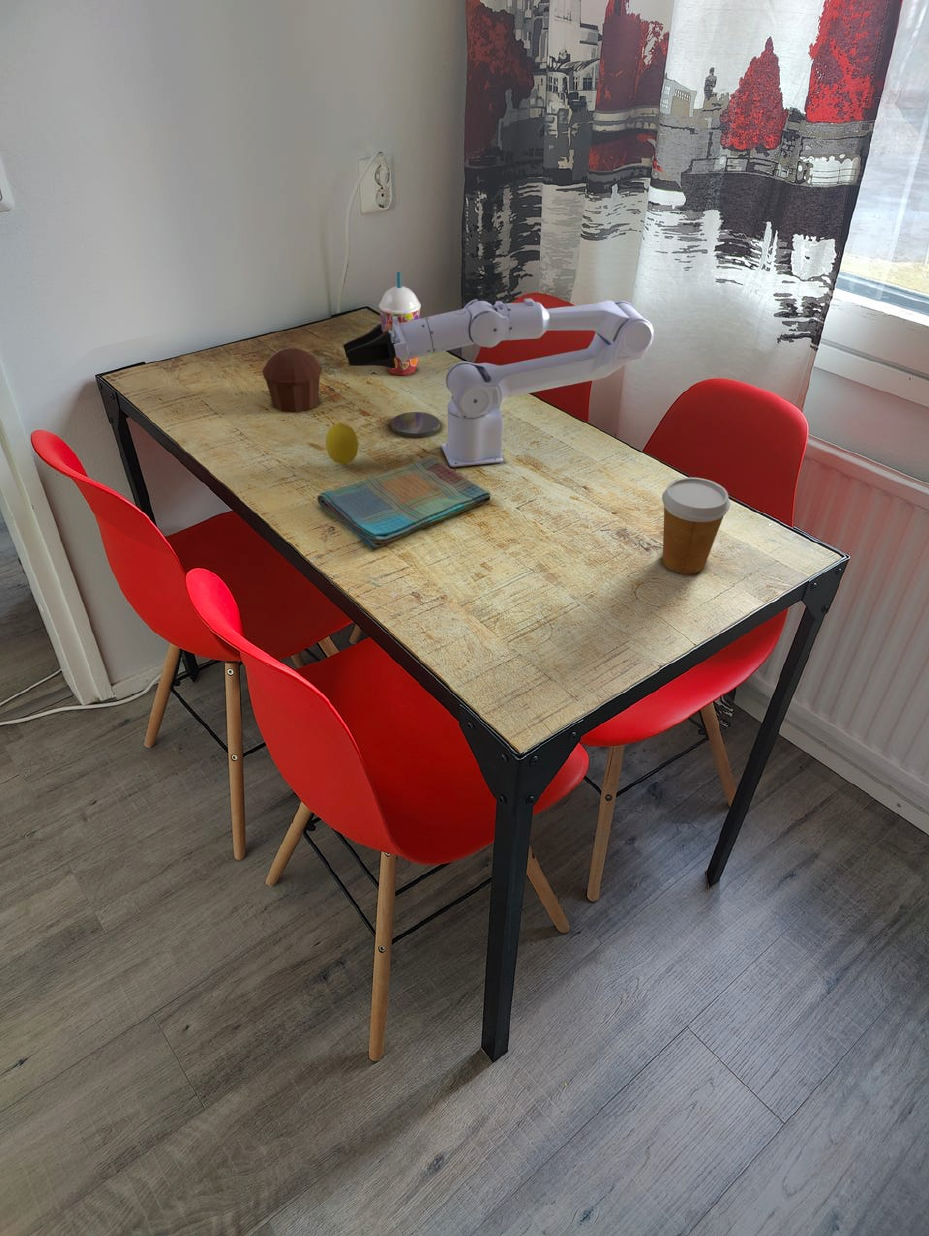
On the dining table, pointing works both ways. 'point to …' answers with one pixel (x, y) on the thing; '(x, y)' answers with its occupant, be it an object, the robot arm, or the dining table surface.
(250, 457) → the dining table surface
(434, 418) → the slate coaster
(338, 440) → the lemon
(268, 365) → the muffin
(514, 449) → the dining table surface
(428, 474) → the dish towel
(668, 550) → the disposable coffee cup
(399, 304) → the smoothie
